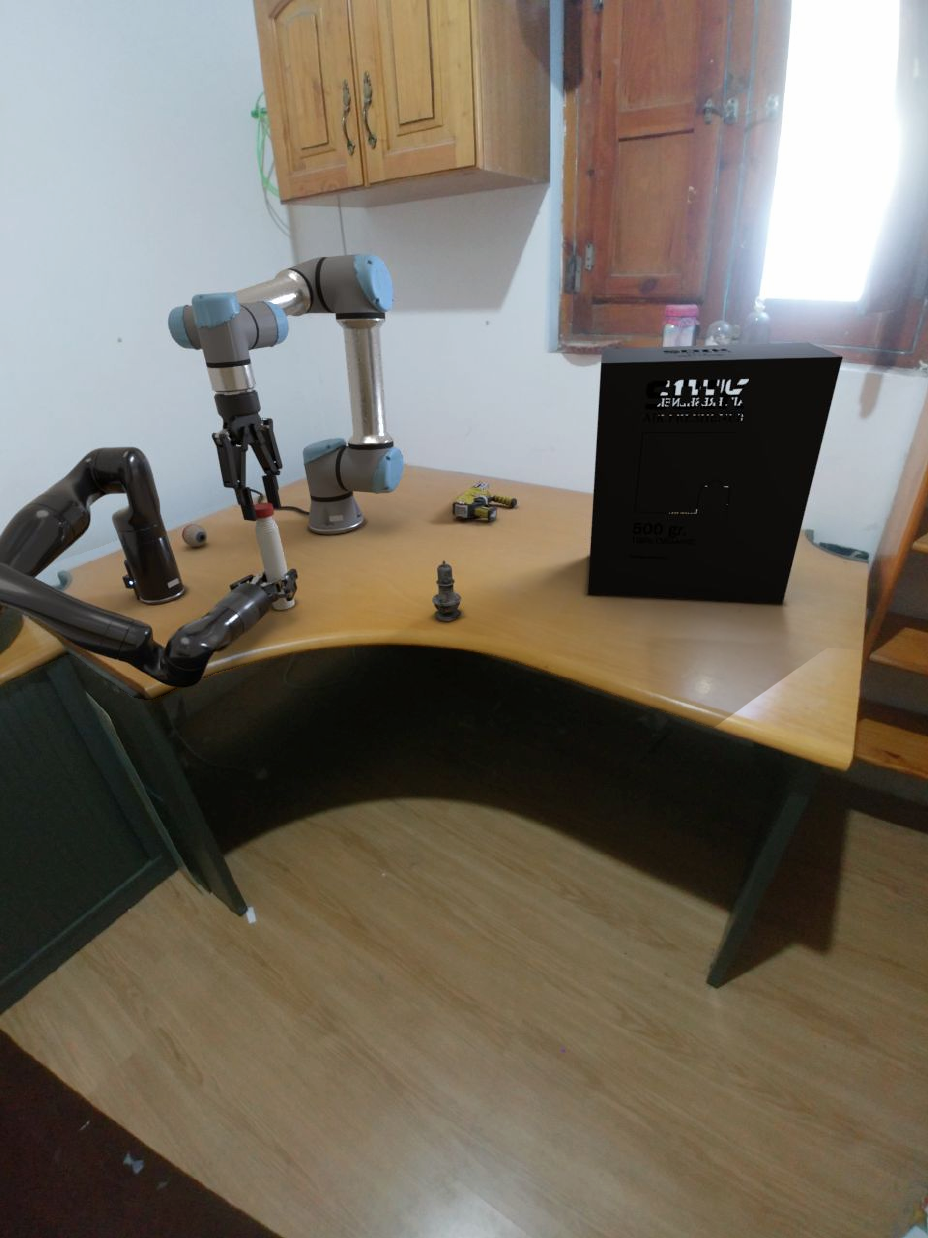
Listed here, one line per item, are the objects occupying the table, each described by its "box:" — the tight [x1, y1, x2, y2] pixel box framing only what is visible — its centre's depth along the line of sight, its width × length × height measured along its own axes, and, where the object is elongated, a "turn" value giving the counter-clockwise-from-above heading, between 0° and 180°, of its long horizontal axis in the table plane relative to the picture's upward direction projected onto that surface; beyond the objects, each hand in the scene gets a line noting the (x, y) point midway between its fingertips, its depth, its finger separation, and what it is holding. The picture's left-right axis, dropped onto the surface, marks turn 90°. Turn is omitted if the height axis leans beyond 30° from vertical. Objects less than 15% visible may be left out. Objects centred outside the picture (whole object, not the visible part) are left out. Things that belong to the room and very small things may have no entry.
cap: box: [254, 502, 275, 519], centre depth 119 cm, size 4×4×2 cm
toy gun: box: [451, 480, 518, 523], centre depth 174 cm, size 5×24×15 cm
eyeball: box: [181, 523, 208, 548], centre depth 159 cm, size 6×6×6 cm
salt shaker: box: [431, 560, 462, 622], centre depth 119 cm, size 6×6×12 cm
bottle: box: [254, 515, 296, 611], centre depth 124 cm, size 4×4×22 cm
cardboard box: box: [587, 342, 844, 605], centre depth 120 cm, size 38×20×45 cm, turn 78°
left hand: (284, 571), depth 128 cm, fingers closed on bottle, 4 cm apart
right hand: (263, 513), depth 119 cm, fingers open, 6 cm apart
